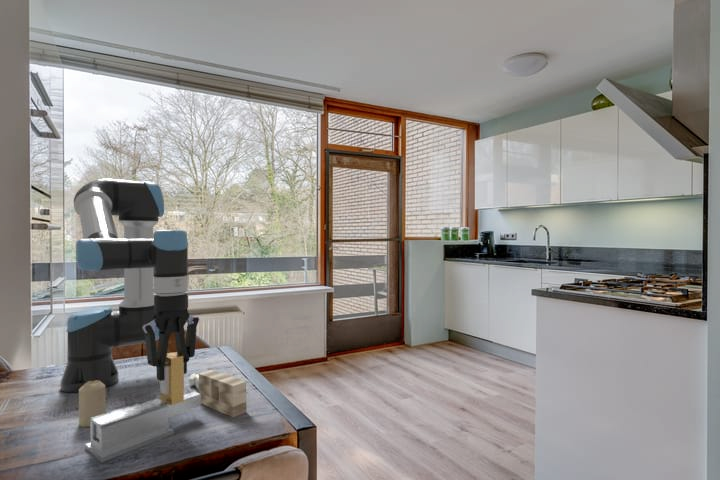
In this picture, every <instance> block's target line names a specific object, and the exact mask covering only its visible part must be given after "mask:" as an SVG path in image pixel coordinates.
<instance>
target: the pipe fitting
mask: <svg viewBox="0 0 720 480" xmlns="http://www.w3.org/2000/svg"><path fill="white" fill-rule="evenodd" d="M188 383H189V386H193V387H194V386H195V388H196V389H197V390H198V373H192V374H190V376H189V379H188Z"/></svg>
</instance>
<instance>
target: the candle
mask: <svg viewBox="0 0 720 480" xmlns="http://www.w3.org/2000/svg"><path fill="white" fill-rule="evenodd" d="M105 413H107V412H106V387H105V385H104V384H103V383H102V382H100V381H98V380H95V381H88V382H87V383H85V384H84V385H83V386H82V387H81V388H80V389H79V392H78V424H79V426H80V427H82V428H87V427H88V428H90V418H92V417H95V416H98V415H101V414H105Z"/></svg>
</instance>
